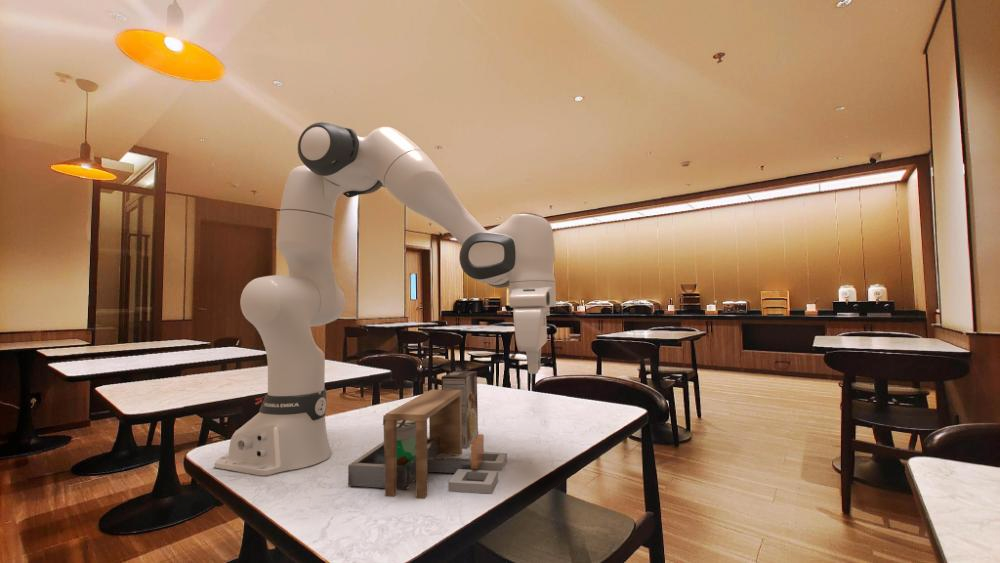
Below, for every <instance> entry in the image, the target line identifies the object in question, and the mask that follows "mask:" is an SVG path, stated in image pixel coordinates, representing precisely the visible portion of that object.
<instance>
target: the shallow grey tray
mask: <svg viewBox="0 0 1000 563" xmlns="http://www.w3.org/2000/svg"><path fill="white" fill-rule="evenodd" d="M484 443H485V442H484V434H483V433H481V434H480V433H478V436H477V437H476V438H475V439H474V440H473V442H472V443H471V445H470V453H471V459H466V458H458V457H457V458H456V457H439V456H440V455H441V454H440V438H430V437H428V436H427V473H429V472H430V473H431V472H432V473H446V474H447V473H448V474H455V473H456V471H457V470H458V469H465V470H479V465H480V463H481V462H482V460H483V459H484V452H485V451H484V450H485V448H484V447H485V446H484V445H485V444H484ZM347 466H348V467H347V470H348V472H347V476H348V478H347V481H348V482H347V484H348V485H347V486H350V487H351V486H353V487H367V488H368V487H369V488H382V489H383V488H384V489H385V464H384V441H382V442H380V444H378V445H377V446H375V447H373V448H372V449H370V450H369V451H368V452H366V453H365V454H363V455H362V456H360V457H358V458H357V459H355V460H354V461H353V462H351V463H349V464H348V465H347ZM414 482H416V455H415V456H414V457H413V458H412V459H411V460H409V461H408V462H407V463H406V464H405V465H397V490H398V489H399V490H407V489H408V488H409V487H410V486H412V484H413V483H414Z"/></svg>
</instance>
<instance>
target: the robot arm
mask: <svg viewBox="0 0 1000 563" xmlns="http://www.w3.org/2000/svg"><path fill="white" fill-rule="evenodd" d="M297 154H298V157H299V158H300V161H301V162H302V163H303V165H302V164H301V165H299V166H296V167H294V168H292V170H290V172H289V174H288V176H287V179H286V182H285V185H284V189H283V192H282V198H281V203H280V210H279V216H278V226H277V236H276V247H277V250H278V252H279V253H280V254H281V255H282V256H283V258H284V259H285V263H286V265H287V270H288V275H284V274H274V275H265V276H261V277H256V278H254V279H252V280H251V281H249V282H248V283H247V284H246V285H245V287H244V288H243V290H242V293H241V295H240V303H239V304H240V310H241V312H242V315H243V316H244V318H245V319H246V320H247V321H248V322H249V323H250V324H252V325H253V327H254V328H255V329H256V331H257V332H258V334H259V335H260V338H261V340H262V342H263V346H264V348H265V354H266V359H267V393H266V394H265V395H264V396H262V397H259V398H258V397H257V398H255V401H257V402H255V403H254V404H255V405H259V404H261V405H260V408H259V412H258V413H257V414H256V415H253V417H252V418H251V419H249V420H248V421H246V423H244V424H243V425H242V426H241V427H239V428H237V430H235V432H234V433H233V434H232V436H231V438H230V441H229V445H228V446H229V447H228V453H227V454H224V455H223V456H221V457H219V458H217V459H216V460H215V462H214V468H215V469H216V468H217V469H222V470H228V471H233V472H240V473H245V474H251V475H257V476H269V475H274V474H277V473H281V472H286V471H292V470H297V469H302V468H306V467H309V466H313V465H316V464H318V463H321V462H323V461H326V460H328V459H329V458H330V457H331V456H332V453H333V452H332V449H331V446H330V442H329V437H328V433H327V425H326V414H327V413H326V412H327V399H328V398H327V389H326V388H325V377H326V376H325V374H326V373H325V370H326V369H325V367H326V366H325V364H326V363H325V362H326V358H325V357H326V356H325V353H324V351H323V350H322V349H321V348H320V347H319V346H318V345H317V344H316V342H315V339H314V337H313V332H312V328H311V327H322V326H325V325H327V324H330V323H332V322H335V321H337V320H338V319H339V318H340V317H341V316H342V314H343V312H344V310H345V308H346V297H345V294H344V292H343V291H342V289H341V288H340V286H339V284H338V281H337V279H336V274H335V268H334V263H333V255H332V254H333V251H332V250H333V248H332V247H333V237H334V226H335V217H336V206H337V205H336V204H337V201H338V199H339V198H340V196H341V195H344V196H346V197H347V198H354V197H357V196H360V195H368V194H373V193H375V192H376V191H378V190H380V189H381V188H382V186H384V188H385V189H386V190H387V191H388V192H389V193H390V194H391V195H392V196H393V197H394V198H395V199H396V200H398V201H399V202H400V203H401V204H402V205H404V206H405V207H407V208H408V209H409V210H411V211H413V212H414V213H417V214H419V215H421V216H423V217H424V218H427V219H429V220H430V221H432V222H434V223H436V224H437V225H439V226H440V227H442V228H444V229H445V230H446V231H447V232H449V233H450V235H452V237H454V239H455V240H456V241H457V242H458V243H459V244H460V247H461V248H460V250H459V258H458V259H459V265H460V267H461V269H462V271H463V272H464V274H466V275H467V276H468V277H470V279H471V278H472V279H473V280H475V281H478V282H481V283H483V284H487V285H489V286H490V287H494V288H497V289H501V288H507V287H508V289H509V290H508V293H509V295H508V296H509V299H508V300H509V308H513V309H512V313H513V314H512V315H513V326H514V334H515V336H514V337H515V342H516V343H515V345H516V347H517V350H518V351H519V352H525V354H526V356H525V357H526V362H527V371H528V374H531V375H537V374H538V373H539V370H540V369H541V357H542V347H543V346H544V345H545V344H546V343H547V340H548V331H547V329H548V328H547V316H550V315H551V314H550V313H551V312H550V311H551V309H550V308H553V307H555V308H556V307H557V292H556V290H557V289H556V277H555V274H554V265H555V264H554V263H555V260H556V259H555V258H556V257H555V256H556V255H555V254H556V252H555V251H556V250H555V241H554V233H553V227H552V225H551V223H550V221H549V220H548V219H546V217H544V216H542V215H539V214H536V213H533V212H532V213H531V212H517V213H514V214H511V216H510V217H509V218H507V219H506V220H505V221H504V222H503V223H501V224H499V225H497V226H494V227H492V228H490V229H488V230H487V229H486V228H485V227H484V226H483V225H482V224H481V223H480V222H479V221H478V220H477V218H475V217H474V215H472V214H471V212H469V211H468V210H467V208H466V207H465V206H464V204H463V203H462V202H461V201H460V199H459V198H458V196H457V195H456V193H455V192H454V191H453V189H452V187H451V186H450V184H449V183H448V181H447V180H446V178H445V177H444V175H443V174H442V173H441V171H440V169H439V168H438V167H437V165H436V164H435V163H434V161H432V159H431V158H430V157H429V156H428V155H427V153H426V152H425V151H424V150H423V149H421V148H420V146H419V145H417V144H416V143H415V142H414V141H412V140H411V139H409V137H408V136H406V135H404V134H403V133H402V132H400V131H399V130H397V129H396V128H394V127H391V126H381V127H380V126H379V127H377V128H375V129H373V130H372V131H371V132H370V133H368V134H367V135H366V136H362V137H361V136H358V135H357V132H356V131H355V130H354V128H353V129H352V128H347V127H343V126H339V125H335V124H332V123H328V122H322V121H321V122H315V123H312V124H310V125H308V126H307V127H306V128H305V129H304V130H303V131H302V132H301V134H300V136H299V139H298V142H297Z"/></svg>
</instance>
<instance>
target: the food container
mask: <svg viewBox="0 0 1000 563" xmlns="http://www.w3.org/2000/svg"><path fill="white" fill-rule="evenodd" d="M382 419H383V420H382V426H383V442H384V463H383V464H385V414H384V415H383V418H382ZM415 455H416V421H413V420H397V465H405V464H406V463H407V462H408V461H409V460H411V459H412V458H413V457H414V456H415Z"/></svg>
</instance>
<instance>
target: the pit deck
mask: <svg viewBox="0 0 1000 563" xmlns="http://www.w3.org/2000/svg"><path fill="white" fill-rule="evenodd" d="M465 459H471V452H470V453H469V454H468V456H467V457H466V458H465ZM507 461H508V453H507V452H495V451H494V452H492V451H491V452H490V451H484V459H483V460H482V462H481V463H480V465H479V470H465V469H458V470H457V471H456V473H453V476H451V478H450V480H449V481H448V482H447V486H448V487H447V489H448V491H447V492H451V493H452V492H453V493H454V492H455V493H469V494H470V493H471V494H472V493H474V494H487V495H488V494H489V495H492V493H493V491H494V489H495V487H496V485H497V483H498V481H499V472H503V470H504V468H505V466H506V463H507Z"/></svg>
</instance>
